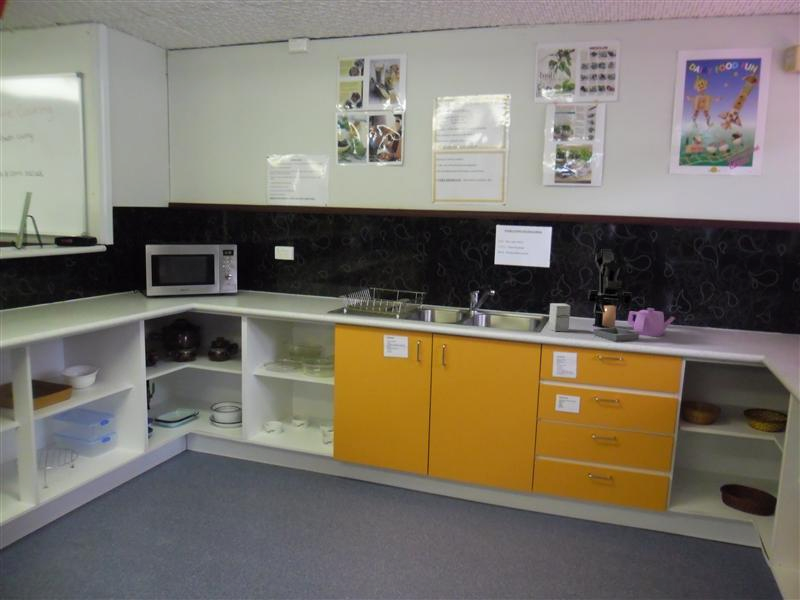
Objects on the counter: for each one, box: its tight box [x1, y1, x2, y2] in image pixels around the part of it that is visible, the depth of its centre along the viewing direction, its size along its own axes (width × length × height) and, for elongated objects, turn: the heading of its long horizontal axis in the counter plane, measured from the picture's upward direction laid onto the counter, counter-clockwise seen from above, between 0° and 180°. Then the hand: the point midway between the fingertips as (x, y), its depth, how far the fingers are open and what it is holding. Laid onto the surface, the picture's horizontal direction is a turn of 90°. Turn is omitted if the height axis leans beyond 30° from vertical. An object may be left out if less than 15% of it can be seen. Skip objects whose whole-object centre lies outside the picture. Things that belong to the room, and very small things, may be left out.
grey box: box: [548, 302, 571, 332], centre depth 301 cm, size 7×7×13 cm
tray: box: [593, 326, 640, 343], centre depth 288 cm, size 14×14×3 cm
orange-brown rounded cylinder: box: [602, 304, 617, 328], centre depth 285 cm, size 6×6×9 cm
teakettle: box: [627, 307, 676, 338], centre depth 299 cm, size 17×17×12 cm
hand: (609, 311), depth 283 cm, fingers closed on orange-brown rounded cylinder, 5 cm apart
